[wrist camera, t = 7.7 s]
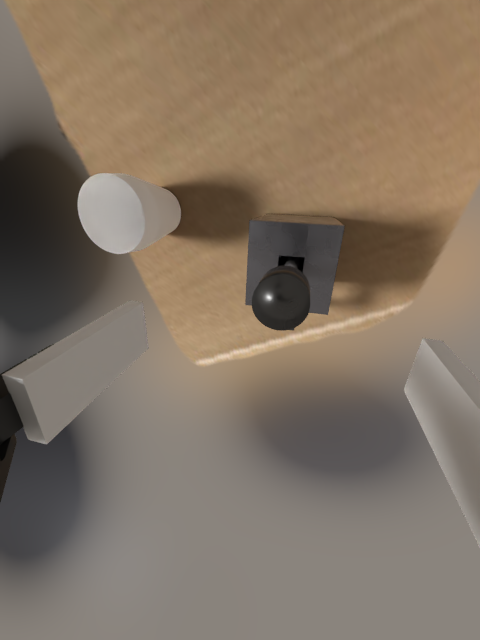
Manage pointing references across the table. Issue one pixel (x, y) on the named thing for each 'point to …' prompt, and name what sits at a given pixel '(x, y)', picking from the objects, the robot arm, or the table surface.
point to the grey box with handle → (296, 252)
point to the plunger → (283, 295)
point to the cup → (126, 212)
